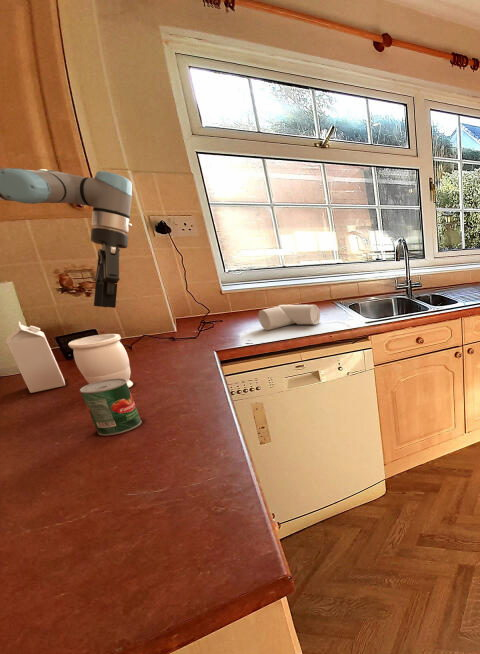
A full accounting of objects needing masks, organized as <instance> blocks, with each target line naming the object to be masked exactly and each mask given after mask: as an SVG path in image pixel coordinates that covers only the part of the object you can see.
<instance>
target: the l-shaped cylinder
mask: <svg viewBox="0 0 480 654" xmlns="http://www.w3.org/2000/svg"><path fill="white" fill-rule="evenodd" d="M257 317H258V322H259V323H260V325H261V327H262V328H263V329H264V330H265V331H270V330H274V329H279V328H283V327H286V326H291V325H294V324H296V325H318V324H319V323H320V321H321V320H320V319H321V312H320V307H318V306H317V305H316V304H278V306H273V307H270V308H266V309H264V308H263V309H260V310H259V311H258V314H257Z"/></svg>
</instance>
